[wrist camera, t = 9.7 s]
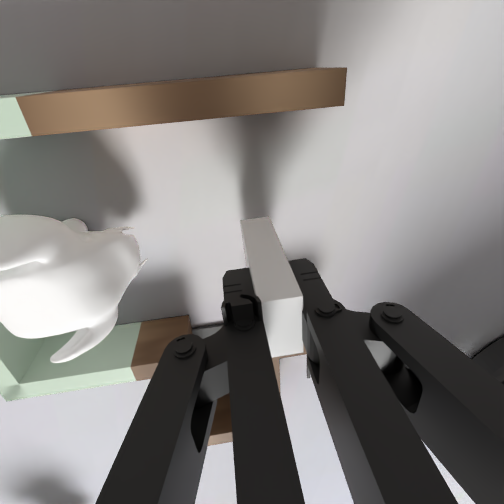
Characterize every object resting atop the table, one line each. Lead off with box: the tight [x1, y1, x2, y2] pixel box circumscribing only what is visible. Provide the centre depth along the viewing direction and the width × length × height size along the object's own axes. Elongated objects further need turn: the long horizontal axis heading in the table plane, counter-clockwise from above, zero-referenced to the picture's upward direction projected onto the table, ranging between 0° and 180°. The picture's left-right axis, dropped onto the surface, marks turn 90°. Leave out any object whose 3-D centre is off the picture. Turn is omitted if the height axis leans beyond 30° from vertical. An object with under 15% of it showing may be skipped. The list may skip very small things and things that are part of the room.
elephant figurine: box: [0, 215, 148, 363], centre depth 14 cm, size 7×8×6 cm
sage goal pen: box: [0, 90, 141, 401], centre depth 15 cm, size 7×14×4 cm, turn 4°
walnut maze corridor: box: [15, 68, 347, 446], centre depth 18 cm, size 11×22×4 cm, turn 4°
